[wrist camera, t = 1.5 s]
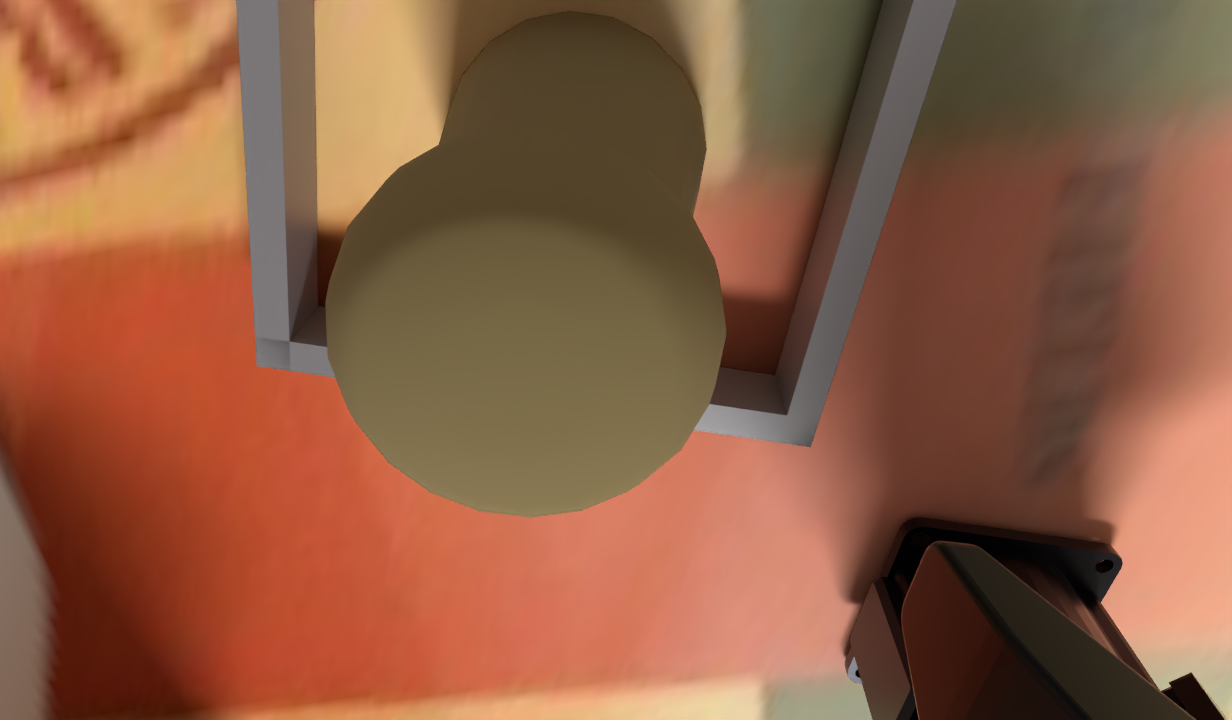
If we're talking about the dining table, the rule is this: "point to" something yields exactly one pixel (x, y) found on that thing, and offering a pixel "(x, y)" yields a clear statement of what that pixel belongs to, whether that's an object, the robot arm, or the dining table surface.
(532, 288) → the olive game pawn
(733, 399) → the open gray frame
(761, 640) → the dining table surface
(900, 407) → the dining table surface
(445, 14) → the dining table surface
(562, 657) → the dining table surface
